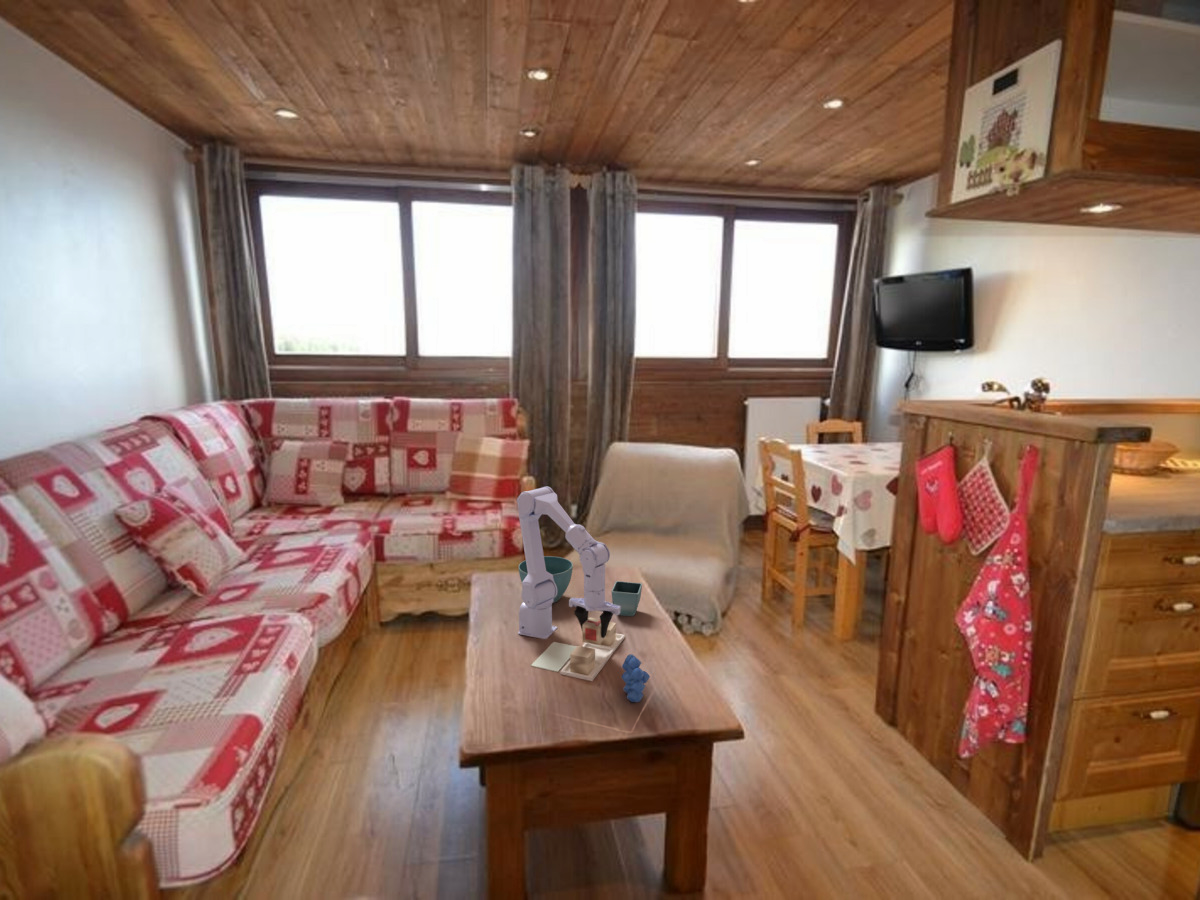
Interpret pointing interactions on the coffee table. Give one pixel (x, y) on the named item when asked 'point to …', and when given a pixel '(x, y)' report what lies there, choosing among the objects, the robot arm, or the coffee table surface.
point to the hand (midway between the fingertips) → (594, 634)
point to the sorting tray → (600, 658)
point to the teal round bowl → (553, 573)
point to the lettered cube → (592, 631)
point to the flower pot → (627, 597)
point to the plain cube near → (582, 660)
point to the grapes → (634, 678)
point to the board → (554, 657)
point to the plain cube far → (610, 635)
